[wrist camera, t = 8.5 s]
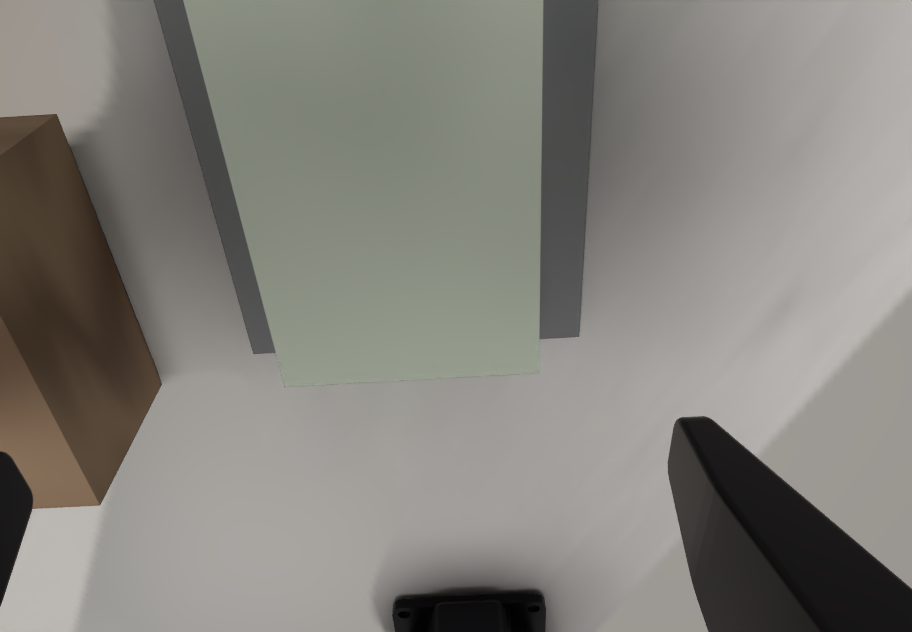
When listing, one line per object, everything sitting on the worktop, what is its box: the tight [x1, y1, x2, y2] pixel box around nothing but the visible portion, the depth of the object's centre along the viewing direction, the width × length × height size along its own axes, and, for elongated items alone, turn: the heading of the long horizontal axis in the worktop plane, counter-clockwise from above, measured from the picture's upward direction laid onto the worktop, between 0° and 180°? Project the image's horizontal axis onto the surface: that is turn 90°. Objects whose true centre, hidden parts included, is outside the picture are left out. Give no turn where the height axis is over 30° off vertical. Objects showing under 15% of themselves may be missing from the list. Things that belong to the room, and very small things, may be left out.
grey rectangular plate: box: [154, 0, 598, 354], centre depth 18 cm, size 12×10×1 cm
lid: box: [183, 0, 543, 387], centre depth 17 cm, size 11×7×2 cm, turn 3°
